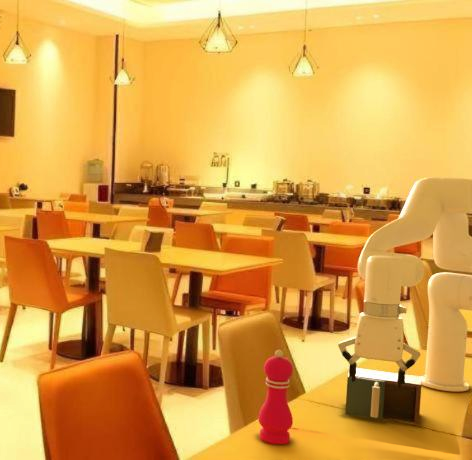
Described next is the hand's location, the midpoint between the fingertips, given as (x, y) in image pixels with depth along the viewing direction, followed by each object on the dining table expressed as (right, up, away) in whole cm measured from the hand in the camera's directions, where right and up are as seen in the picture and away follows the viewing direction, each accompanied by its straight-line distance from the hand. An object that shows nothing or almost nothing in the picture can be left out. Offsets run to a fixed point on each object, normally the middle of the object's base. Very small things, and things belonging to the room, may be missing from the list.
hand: (376, 383), depth 174 cm
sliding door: (-1, -10, +4) cm, 11 cm away
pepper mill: (-26, -11, -8) cm, 29 cm away
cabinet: (+6, -10, +10) cm, 15 cm away
